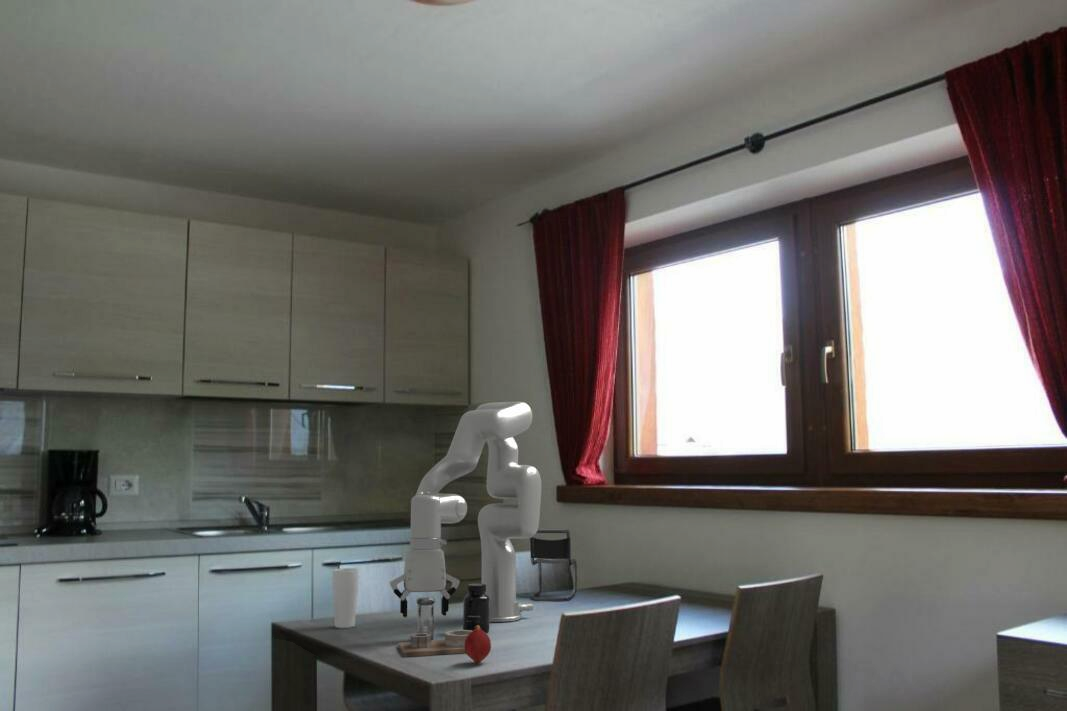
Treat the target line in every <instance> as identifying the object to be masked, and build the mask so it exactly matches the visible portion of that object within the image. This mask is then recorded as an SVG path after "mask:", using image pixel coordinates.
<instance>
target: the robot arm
mask: <svg viewBox="0 0 1067 711" xmlns="http://www.w3.org/2000/svg"><path fill="white" fill-rule="evenodd" d="M532 423H533V411H532V409H531V407H530V405H528V404H527V403H526V402H523V401H503V402H502V401H498V402H497V401H496V402H493V401H492V402H487V403H482V404H480V405H478V406H477V407H476V409H474V410H473V409H472V410H469V411H468V410H467V412H465V413H464V414H462V416H461V417H460V419H459V422H458V425H457V428H456V430H455V433H454V436H453V438H452V440H451V444H450V446H449V449H448V450H447V454H446V455H445V456H444V457H443V458H441V460H440V461H438V462H437V463H435V465H434V466H433V467H432V468H430V470H429V471H428V472H427V473H426V474H425V475H424V476H423V478H422V479H421V481H420V483H419V485H418V488H417V489H416V490H417V491H416V493H415V495H414V496H413V497H412V498H411V500H410V541H409V545H410V547H409V550H406V554H405V559H404V560H405V561H404V569H403V574H401V575H400V576H398V577H396V578H394V579H392V580H391V581H389V586H390V588H391V589H392V592H393V594H395V595H396V596H397V597H398V599H400V602H399V603H400V606H399V608H400V614H402V616H403V618H407V617H408V600H407V597H408V596H409V595H410V593H433V592H439V593H440V594H441V595H442V598H441V609H440V610H441V611H440V612H441V615H442V616H443V617H446V616H447V612H449V608H450V607H449V601H450V600H449V599H450V598H451V596H453V595H454V594H455V592H456V591H457V589H458V587H459V585H460V582H461V580H459V579H458V578H456V577H454V576H452V575H451V574H448V573H446V571H447V570H446V562H445V554H444V553H445V552H444V550H443V549H442V547H444V546H447V542H448V540H447V539H442V535H441V534H442V524H457V523H459V522H461V521H462V520H463V519H464V518H465V517H466V515H467V513H468V504H467V502H466V500H465V498H464V497H463V496H461V495H459V494H456V493H441V492H440V491H442V489H443V488H444V487H445V486H446V485H447V484H448V483H450V482H453V481H455V480H456V479H458V478H460V477H463V476H465V475H467V474H470V473H471V472H473V471H474V470H475V469H476V468H477V465H478V463H479V460H480V457H481V455H482V452H483V449H484V447H485V444H486V443H487V446H488V459H487V471H486V491H487V494H488V495H489V497H491V498H494V499H501V500H502V499H503V500H504V499H505V500H518V503H507V502H506V503H504V502H503V503H498V502H496V503H490V504H487V505H485V506H483V507H481V509H480V510H479V512H478V516H477V525H478V526H477V527H478V532H479V536H480V537H479V538H480V544H481V584H486V592H485V594H486V595H487V596H488V597H489V598H490V623H506V622H507V623H508V622H514V621H519V620H521V619H522V612H525V611H526V612H528V611H529V612H532V611H533V610H534V605H533V603H521V602H519V601H517V580H516V579H517V574H516V573H517V566H516V564H517V563H516V560H517V559H516V558H517V556H516V551H515V547H514V546H513V544H512V542H511V540H510V539H515V540H516V539H517V540H527V539H530V538H532V537H533V536H534V537H535V535H536V534H537V533H536V532H537V530H539V526H540V515H541V504H542V502H541V501H542V500H541V498H542V478H541V475H540V472H539V471H538V469H537V468H536V467H535V466H533V465H529V464H519V446H518V443H517V441H516V440H515V438H514V437H516V436H518V435H520V434H523V433H524V432H526V431H527V430H529V428H530V426H531V424H532ZM447 581H449V582H451V584H452V585H451V587H449V589H447V590H446V587H447ZM400 583H403V591H402V592H401V590H399V588H398V586H397V585H398V584H400Z"/></svg>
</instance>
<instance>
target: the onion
mask: <svg viewBox="0 0 1067 711" xmlns="http://www.w3.org/2000/svg"><path fill="white" fill-rule="evenodd" d="M464 647H465V652H466V653H465V654H466V655H467V657H469V658H470V659H471V660H472V661H473V662H474V663H476V664H480V663H481V662H483V661H484V660H485V659H486V658H487V657H488V655H489V654H490V652H491V648H492V643H491V638H490V637H489V634H488V633H485V632H484V631H483V630H481V628H480V626H476V627H475V629H474V630H473V631H472V632H471V633H469V635H468V636H467V637H466V640H465V645H464Z"/></svg>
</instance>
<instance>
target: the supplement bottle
mask: <svg viewBox="0 0 1067 711" xmlns="http://www.w3.org/2000/svg"><path fill="white" fill-rule="evenodd" d="M466 592H467V594H466V595H465V596H464V597H463V603H462V604H463V606H462V609H463V610H462V614H463V615H462V630H471V631H473V630H474V629H475V627H476V626H480V628H481V630H483V631H484V632H485V633H486V634H488V633H489V632H490V623H491V622H490V598H489V597H488V596H487V595H486V594H485V592H486V584H482V583H469V584H467V590H466Z"/></svg>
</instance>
